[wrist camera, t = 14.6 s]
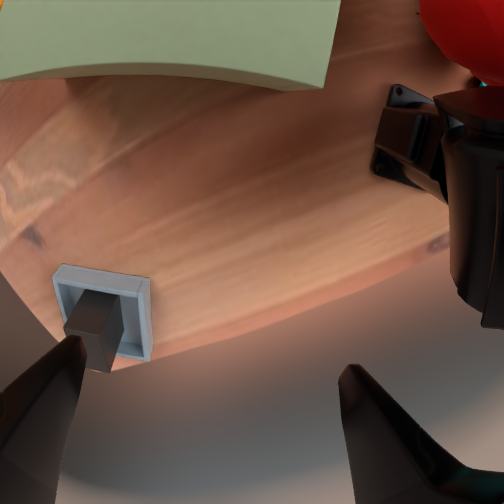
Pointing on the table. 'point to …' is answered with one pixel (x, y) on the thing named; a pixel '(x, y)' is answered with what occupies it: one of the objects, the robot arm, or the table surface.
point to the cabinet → (170, 40)
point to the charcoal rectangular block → (97, 327)
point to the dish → (131, 298)
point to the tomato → (469, 34)
